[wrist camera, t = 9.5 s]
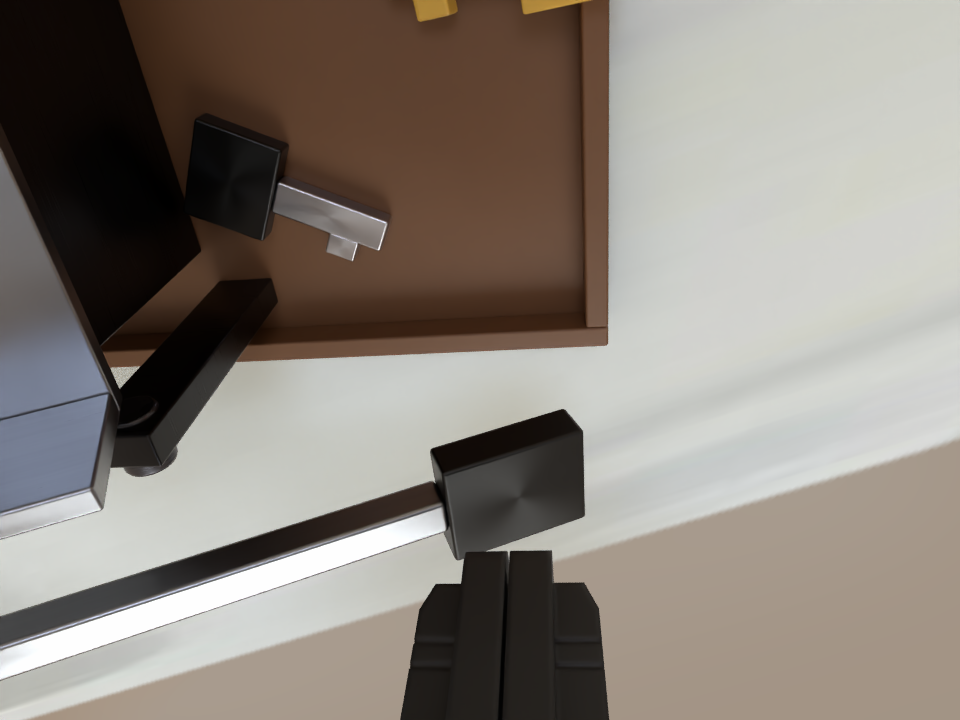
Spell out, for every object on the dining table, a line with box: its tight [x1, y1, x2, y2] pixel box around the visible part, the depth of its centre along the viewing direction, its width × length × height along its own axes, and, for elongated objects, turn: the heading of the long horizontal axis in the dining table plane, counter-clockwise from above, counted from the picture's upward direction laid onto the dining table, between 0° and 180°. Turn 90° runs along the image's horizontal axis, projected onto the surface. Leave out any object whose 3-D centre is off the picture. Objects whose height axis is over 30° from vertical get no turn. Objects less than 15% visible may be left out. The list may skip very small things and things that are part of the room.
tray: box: [100, 0, 609, 368], centre depth 17 cm, size 14×20×2 cm
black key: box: [183, 113, 392, 261], centre depth 18 cm, size 3×5×1 cm, turn 70°
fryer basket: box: [0, 123, 585, 681], centre depth 11 cm, size 13×18×4 cm
